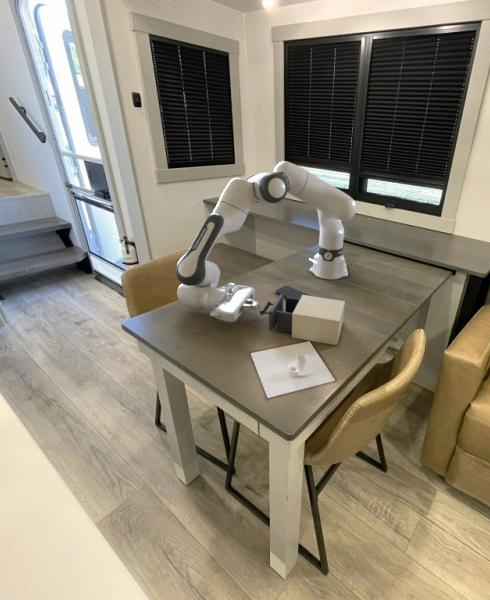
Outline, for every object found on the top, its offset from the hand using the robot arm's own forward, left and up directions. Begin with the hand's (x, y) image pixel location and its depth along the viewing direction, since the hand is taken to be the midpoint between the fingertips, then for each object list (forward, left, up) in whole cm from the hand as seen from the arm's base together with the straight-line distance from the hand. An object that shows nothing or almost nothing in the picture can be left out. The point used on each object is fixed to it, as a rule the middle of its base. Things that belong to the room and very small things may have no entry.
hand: (257, 306), depth 117 cm
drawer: (0, +11, -5) cm, 12 cm away
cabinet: (0, +22, -6) cm, 23 cm away
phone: (-22, +7, -6) cm, 24 cm away
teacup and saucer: (+21, +18, -6) cm, 29 cm away
